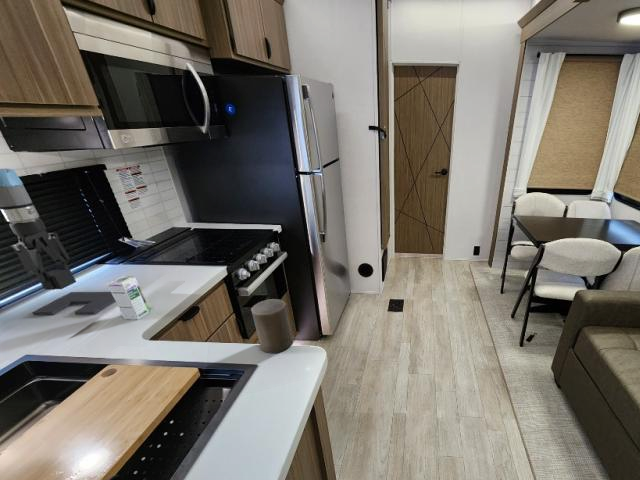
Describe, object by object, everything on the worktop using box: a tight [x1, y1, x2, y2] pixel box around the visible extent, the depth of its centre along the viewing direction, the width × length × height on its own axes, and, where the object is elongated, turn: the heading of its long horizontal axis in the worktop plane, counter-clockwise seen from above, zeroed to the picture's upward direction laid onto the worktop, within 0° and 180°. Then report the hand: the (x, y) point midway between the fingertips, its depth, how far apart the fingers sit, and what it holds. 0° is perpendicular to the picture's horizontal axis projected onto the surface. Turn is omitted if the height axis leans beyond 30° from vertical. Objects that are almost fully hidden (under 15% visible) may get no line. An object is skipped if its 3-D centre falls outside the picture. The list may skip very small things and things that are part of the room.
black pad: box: [38, 268, 77, 290], centre depth 116 cm, size 6×6×5 cm
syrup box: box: [106, 275, 151, 320], centre depth 117 cm, size 6×6×14 cm
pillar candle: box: [250, 298, 294, 354], centre depth 100 cm, size 10×10×15 cm
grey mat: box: [32, 291, 116, 316], centre depth 126 cm, size 22×16×2 cm
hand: (60, 284), depth 117 cm, fingers closed on black pad, 6 cm apart
